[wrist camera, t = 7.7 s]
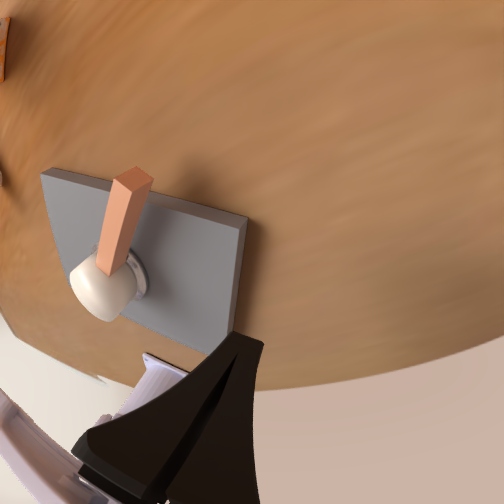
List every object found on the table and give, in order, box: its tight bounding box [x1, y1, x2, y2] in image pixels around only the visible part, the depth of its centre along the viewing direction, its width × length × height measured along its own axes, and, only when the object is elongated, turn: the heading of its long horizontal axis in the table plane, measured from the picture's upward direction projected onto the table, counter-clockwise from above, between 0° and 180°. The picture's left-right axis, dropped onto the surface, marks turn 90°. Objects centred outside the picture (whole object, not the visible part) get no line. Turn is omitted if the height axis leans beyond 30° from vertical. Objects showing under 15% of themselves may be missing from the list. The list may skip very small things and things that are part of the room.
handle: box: [70, 166, 154, 322], centre depth 18 cm, size 13×5×3 cm, turn 148°
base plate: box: [40, 168, 248, 355], centre depth 23 cm, size 14×20×2 cm
